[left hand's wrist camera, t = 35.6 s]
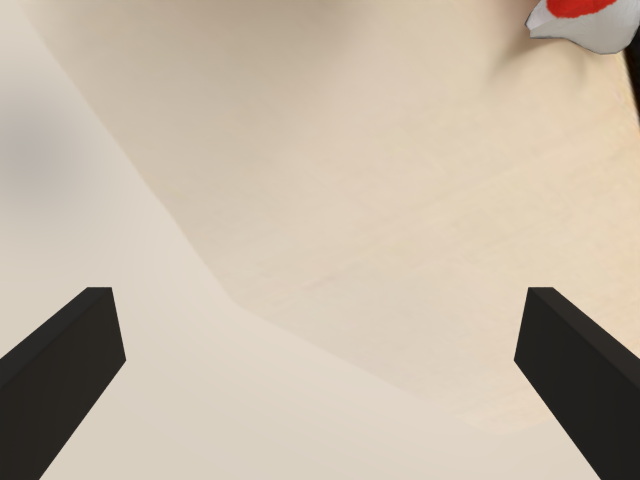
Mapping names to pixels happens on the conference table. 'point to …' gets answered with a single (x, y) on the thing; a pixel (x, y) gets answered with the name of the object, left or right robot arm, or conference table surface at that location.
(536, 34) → the fish
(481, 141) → the conference table surface
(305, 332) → the conference table surface
